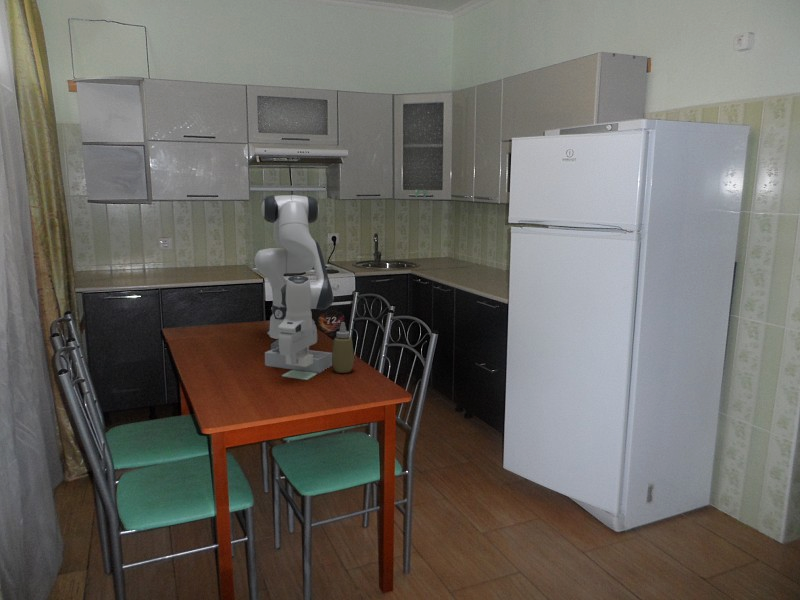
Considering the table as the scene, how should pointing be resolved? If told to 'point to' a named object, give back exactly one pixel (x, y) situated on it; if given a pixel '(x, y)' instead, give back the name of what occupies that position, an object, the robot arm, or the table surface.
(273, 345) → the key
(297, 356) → the cover
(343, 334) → the squeeze bottle
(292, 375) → the pad
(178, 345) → the table surface
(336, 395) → the table surface
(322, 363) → the block
